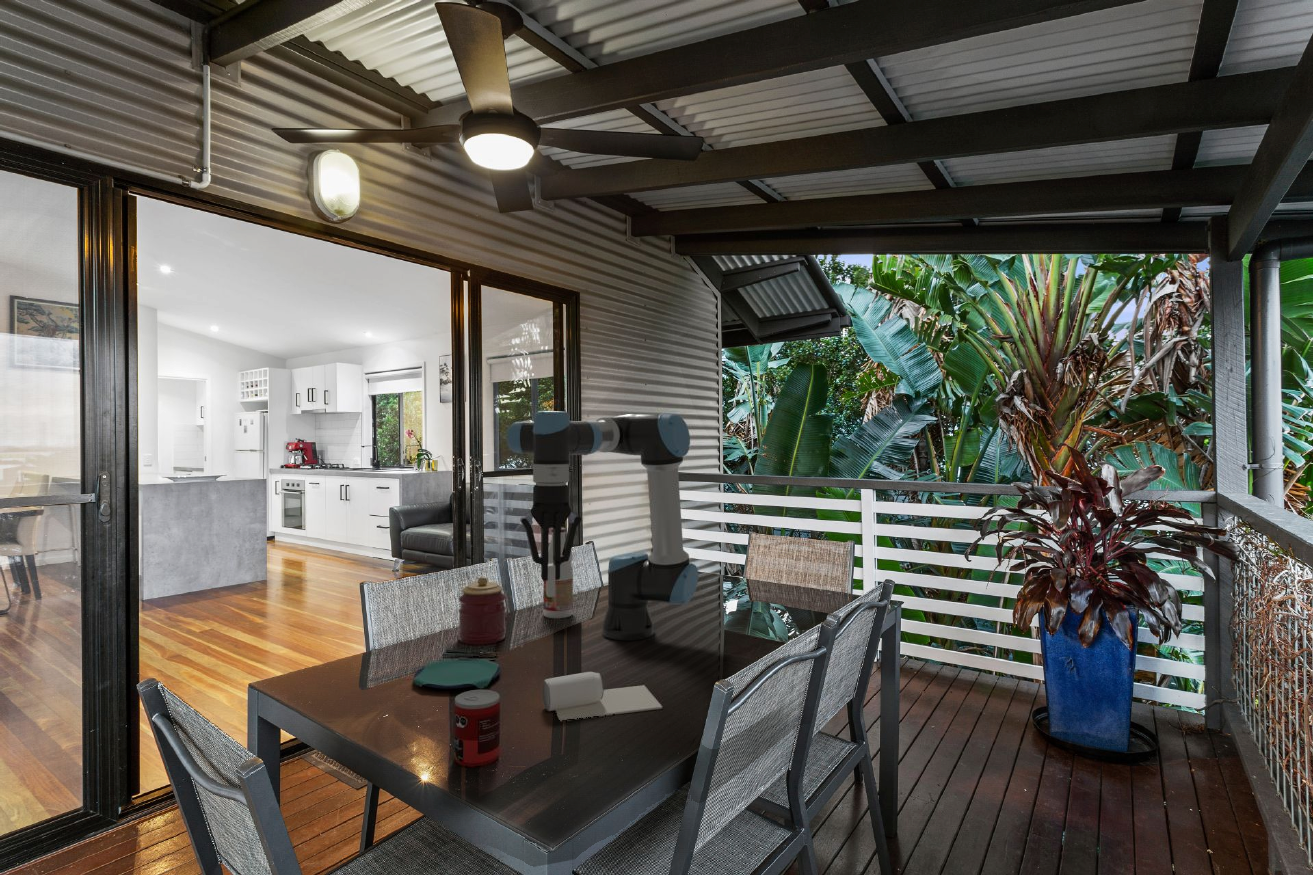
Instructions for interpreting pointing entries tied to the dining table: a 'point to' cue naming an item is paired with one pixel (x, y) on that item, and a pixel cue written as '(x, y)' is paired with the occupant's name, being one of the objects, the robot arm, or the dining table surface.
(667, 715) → the dining table surface
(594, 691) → the can
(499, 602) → the canister
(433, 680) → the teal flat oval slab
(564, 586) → the fruit juice
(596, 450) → the robot arm
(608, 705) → the mat
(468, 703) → the canned food
